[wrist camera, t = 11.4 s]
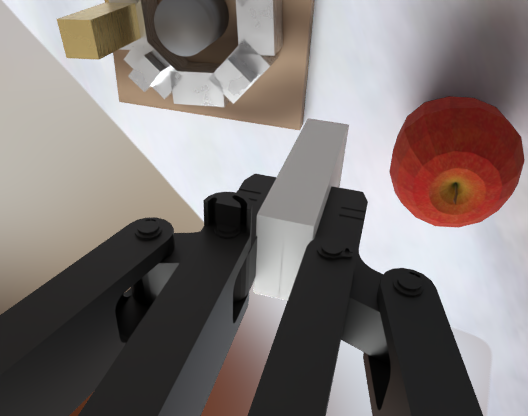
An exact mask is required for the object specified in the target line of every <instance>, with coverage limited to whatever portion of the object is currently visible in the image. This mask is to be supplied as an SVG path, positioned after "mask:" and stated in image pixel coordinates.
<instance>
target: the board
mask: <svg viewBox="0 0 528 416" xmlns="http://www.w3.org/2000/svg"><path fill="white" fill-rule="evenodd" d="M314 1H315V0H282V32H283V47H282V48H281V49H280V50H279V51H278V52H277V53H276V54H277V56H278V58H277V59H276V61H275V62H274V63H273V64H272V65H271V66H270V67H269V68H268V69H267V70H266V71H265V72H264V73H263V74H262V75H261V76H260V77H259V78H258V79H257V80H256V81H255V82H254V83H253V84H252V86H251V87H250V88H249V89H248V90H247V91H246V92H245V93H244V94H243V95H242V96H241V97H240V98H239V99H238V100H237V101H236V102H235V103H234V104H233V103H232V102H231V101H230V102H229V103H228V104H227V105H226V106H225V107H214V106H199V105H185V104H174V101H173V94H171V95H169V96H168V97H167V98H166V99H164V98H163V97H162V96H161V95H160V94H159V93H158V92H157V91H155V90H154V89H153V88H152V87H151V88H150V89H148V90H147V91H145V92H144V91H143V90H142V89H141V88H140V87H139V86H138V85H136V84H135V83H134V82H133V81H132V80H131V79H130V78H129V77H128V76H129V74H130V73H131V72H132V70H133V68H132V67H131V66H130V65H129V64H128V63H127V62H126V61H125V60H124V58H125V57H126V56H127V54H128V53H129V51H130V50H121V49H118V50H116V51H115V52H113V55H114V63H115V71H116V79H117V87H118V95H119V102H124V103H131V104H137V105H143V106H150V107H156V108H162V109H169V110H175V111H181V112H187V113H194V114H200V115H206V116H213V117H219V118H225V119H232V120H238V121H244V122H251V123H257V124H263V125H270V126H276V127H282V128H288V129H295V130H300V129H301V127H302V125H303V116H304V106H305V95H306V85H307V74H308V64H309V53H310V43H311V32H312V22H313V12H314ZM105 3H109V0H105ZM157 4H158V7H157V9H156V11H155V16H154V25H155V30H156V33H157V36H158V38H159V40H160V41H161V43H162V44H163V45H164V46H165V47H166V48H167V49H168V50H169V51H171V52H172V53H174V54H176V55H179V56H184V57H185V58H186V59H187V60H188V61H189V62H197V63H219V64H222V63H223V62H224V61H225V60H226V59H227V58H228V56H229V55H230V54H231V53H232V52H233V51H234V50H235V49H236V47H237V46H238V29H237V13H236V0H157Z"/></svg>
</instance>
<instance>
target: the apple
mask: <svg viewBox="0 0 528 416" xmlns="http://www.w3.org/2000/svg"><path fill="white" fill-rule="evenodd" d="M523 164H524V154H523V147H522V140H521V136H520V135H519V133H518V132H517V131H516V130H515V128H514V127H513V126H512V125H511V123H510V122H509V121H508V120H507V119H506V118H505V117H504V115H503V114H502V113H501V112H500V111H499V110H498V109H497V108H496V107H494V106H492V105H490V104H487V103H485V102H482V101H480V100H478V99H475V98H468V97H450V96H449V97H445V98H441V99H436V100H432V101H428V102H425V103H423V104H422V105H421V106H420V107H418V108H417V109H416V110H415V111H413V112H412V113H411V114H410V115H408V116H407V118H406V120H405V122H404V124H403V126H402V128H401V130H400V132H399V134H398V136H397V139H396V143H395V146H394V149H393V154H392V160H391V166H390V176H391V179H392V183H393V187H394V191H395V193H396V195H397V196H398V198H399V200H400V201H401V203H402V204H403V205H404V206H405V207H406V208H407V209H408V210H409V211H410V212H411V213H412V214H413V215H414V216H415V217H416V218H419V219H421V220H423V221H425V222H427V223H430V224H432V225H434V226H444V227H462V226H466V225H470V224H474V223H479V222H481V221H483V220H484V219H486V218H487V217H489V216H491V215H492V214H494V213H495V212H497V211H498V210H499V209H500V208H501V207H502V206H503V204H504V203H505V202H506V201H507V200H508V199H509V197H510V196H511V195H512V193H513V192H514V190H515V188H516V186H517V184H518V182H519V178H520V175H521V171H522V167H523Z"/></svg>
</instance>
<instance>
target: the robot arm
mask: <svg viewBox="0 0 528 416" xmlns="http://www.w3.org/2000/svg"><path fill="white" fill-rule="evenodd" d="M348 127H349V125H347V124H341V123H334V122H328V121H321V120H315V119H307V121H306V123H305V125H304V127H303V129H302V131H301V133H300V135H299V136H298V138H297V140H296V142H295V144H294V146H293V148H292V150H291V152H290V153H289V155H288V157H287V159H286V161H285V163H284V165H283V167H282V168H281V170H280V172H279V174H278V176H277V178H276V177H271V176H265V175H260V174H254V175H252V176H251V177H249V178H247V179H245V180H244V182H243V183H242V185H241V186H240V188H239V190H238V191H237V193H235V192H220V193H215V194H213V195H210V196H208V197H207V198H206V199H205V200H204V227H203V229H202V230H201V231H200V232H195V233H174V229H173V227H172V225H171V224H170V223H169V222H167V221H166V220H164V219H159V218H143V219H139V220H136V221H135V222H132V223H130V224H129V225H127V226H126V227H124V228H123V229H122V230H120V231H119V232H117V233H116V234H115V235H113V236H112V237H110V238H109V239H108V240H106V241H105V242H103V243H102V244H100V245H99V246H98V247H96V248H95V249H93V250H92V251H91V252H89V253H88V254H86V255H85V256H83V257H82V258H81V259H79V260H78V261H76V262H75V263H74V264H72V265H71V266H69V267H68V268H67V269H65V270H64V271H62V272H61V273H59V274H58V275H57V276H55V277H54V278H52V279H51V280H49V281H48V282H47V283H45V284H44V285H42V286H41V287H39V288H38V289H37V290H35V291H34V292H33V293H31V294H30V295H28V296H27V297H25V298H24V299H23V300H21V301H20V302H18V303H17V304H15V305H14V306H13V307H11V308H10V309H8V310H7V311H5V312H4V313H3V314H1V315H0V416H69V415H70V414H71V413H72V412H73V411H74V410H75V409H76V408H77V407H78V406H79V405H80V404H81V403H82V402H83V401H84V400H85V399H86V398H87V397H88V396H89V395H90V394H91V393H92V392H93V391H94V390H95V391H94V392H93V394H92V395H91V397H90V398H89V400H88V401H87V403H86V404H85V406H84V408H83V409H82V410H81V412H80V413H79V415H78V416H201V414H202V411H203V409H204V407H205V404H206V402H207V400H208V397H209V395H210V393H211V390H212V388H213V386H214V383H215V381H216V379H217V376H218V374H219V371H220V369H221V367H222V365H223V362H224V360H225V358H226V356H227V353H228V351H229V349H230V346H231V344H232V341H233V339H234V337H235V334H236V332H237V330H238V327H239V325H240V323H241V321H242V318H243V316H244V314H245V311H246V309H247V307H248V301H249V290H250V288H251V286H252V283H253V281H254V292H253V293H256V294H260V295H264V296H268V297H273V298H277V299H281V300H286V301H287V304H286V307H285V310H284V313H283V316H282V318H281V321H280V324H279V327H278V330H277V333H276V336H275V339H274V342H273V344H272V347H271V350H270V353H269V356H268V359H267V362H266V365H265V367H264V370H263V373H262V376H261V379H260V382H259V385H258V387H257V390H256V393H255V397H254V399H253V402H252V405H251V408H250V410H249V413H248V416H326V411H327V406H328V401H329V396H330V391H331V386H332V381H333V376H334V371H335V366H336V361H337V356H338V351H339V346H340V341H341V340H343V341H345V342H346V343H348V344H350V345H352V346H354V347H356V348H358V349H359V350H361V351H363V352H364V354H363V359H364V365H365V371H366V378H367V384H368V390H369V397H370V403H371V409H372V414H373V416H483V414H482V411H481V409H480V406H479V403H478V400H477V398H476V395H475V392H474V389H473V387H472V384H471V381H470V379H469V376H468V373H467V370H466V368H465V365H464V362H463V360H462V357H461V354H460V352H459V349H458V346H457V343H456V341H455V338H454V335H453V333H452V330H451V327H450V324H449V322H448V319H447V316H446V314H445V311H444V308H443V305H442V303H441V300H440V297H439V295H438V292H437V289H436V287H435V286H434V284H433V282H432V281H431V280H430V279H429V278H427V277H426V276H425V275H424V274H421V273H419V272H417V271H415V270H411V269H405V268H397V269H391V270H389V271H387V272H385V273H384V275H383V274H381V273H379V272H377V271H375V270H373V269H371V268H370V267H369V266H367V265H366V264H365V263H364V262H363V261H362V259H361V258H360V255H359V244H360V239H361V234H362V229H363V224H364V218H365V213H366V208H367V203H368V201H367V199H366V197H365V195H364V193H363V192H360V191H355V190H349V189H344V188H339V186H340V180H341V173H342V167H343V160H344V153H345V147H346V140H347V134H348ZM130 287H131V288H130ZM129 288H130V289H129ZM128 289H129V290H128ZM127 290H128V291H127ZM126 291H127V292H126ZM124 292H125V293H124Z"/></svg>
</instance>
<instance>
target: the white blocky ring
mask: <svg viewBox="0 0 528 416" xmlns="http://www.w3.org/2000/svg"><path fill="white" fill-rule="evenodd" d="M157 7H158V4H157V0H109V3H102V4H100V5H97V6H94V7H91V8H88V9H85V10H82V11H79V12H76V13H73V14H70V15H67V16H65V17H62V18H59V19H57V22H58V26H59V30H60V34H61V38H62V42H63V46H64V49H65V53H66V57H67V58H79V59H101V58H103V57H105V56H107V55H109V54H111V53H113V52H115V51H116V50H118V49H121V50H130V51H129V53H128V54H127V56H126V57H125V58H124V60H125V61H126V62H127V63H128V64H129V65H130V66H131V67H132V68H133V70H132V72H131V73H130V74H129V76H128V77H129V78H130V79H131V80H132V81H133V82H134V83H135V84H136V85H138V86H139V87H140V88H141V89H142V90H143V91H144V92H145V91H147V90H148V89H150V88H151V87H152V88H153V89H154V90H155V91H157V92H158V93H159V94H160V95H161V96H162V97H163V98H164V99H166V98H167V97H168V96H169V95H171V94H173V101H174V104H185V105H199V106H214V107H225V106H226V105H227V104H228V103H229V102H230V101H231V102H232V103H233V104H234V103H235V102H236V101H237V100H238V99H239V98H240V97H241V96H242V95H243V94H244V93H245V92H246V91H247V90H248V89H249V88H250V87H251V86H252V84H253V83H254V82H255V81H256V80H257V79H258V78H259V77H260V76H261V75H262V74H263V73H264V72H265V71H266V70H267V69H268V68H269V67H270V66H271V65H272V64H273V63H274V62H275V61H276V59H277V58H278V56H277V54H276V53H277V52H278V51H279V50H280V49H281V48H282V47H283V32H282V0H236V13H237V29H238V46H237V47H236V49H235V50H234V51H233V52H232V53H231V54H230V55H229V56H228V58H227V59H226V60H225V61H224V62H223V63H222V64H219V63H197V62H189V61H188V60H187V59H186V58H185V57H184V56H179V55H176V54H174V53H172V52H171V51H169V50H168V49H167V48H166V47H165V46H164V45H163V44H162V43H161V41H160V40H159V38H158V36H157V33H156V30H155V25H154V16H155V11H156V9H157Z"/></svg>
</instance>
